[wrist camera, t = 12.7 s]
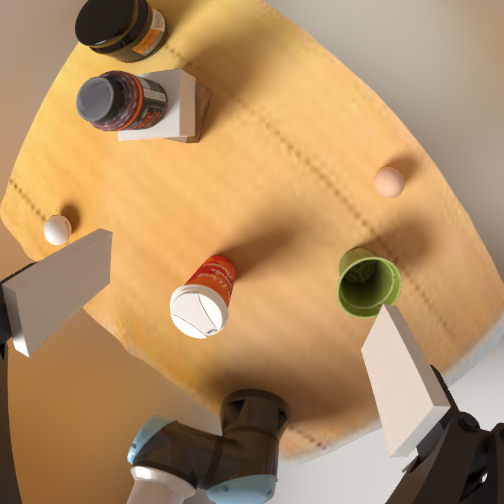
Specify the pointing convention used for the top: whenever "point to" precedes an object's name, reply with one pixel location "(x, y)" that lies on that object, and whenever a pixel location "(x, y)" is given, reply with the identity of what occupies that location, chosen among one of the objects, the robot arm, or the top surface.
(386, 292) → the plant pot
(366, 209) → the top surface
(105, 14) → the supplement container
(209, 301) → the paper cup
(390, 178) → the egg
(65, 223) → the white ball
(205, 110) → the bottom block
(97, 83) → the supplement bottle
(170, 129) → the top block
